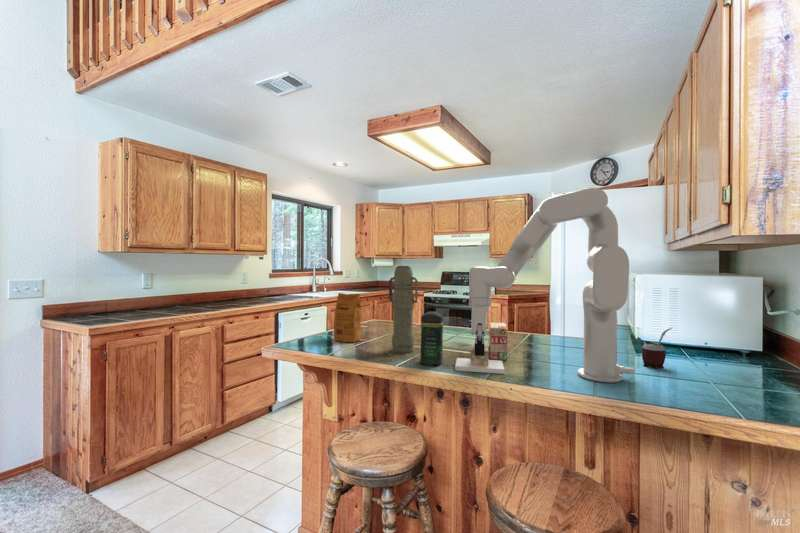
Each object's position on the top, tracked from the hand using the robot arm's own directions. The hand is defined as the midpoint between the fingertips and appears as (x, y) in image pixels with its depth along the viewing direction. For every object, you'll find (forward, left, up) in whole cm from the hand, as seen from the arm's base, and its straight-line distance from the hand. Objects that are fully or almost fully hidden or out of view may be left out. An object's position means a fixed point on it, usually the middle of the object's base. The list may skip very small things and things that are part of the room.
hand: (479, 352), depth 129 cm
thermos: (+31, -18, -6) cm, 36 cm away
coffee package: (+60, -30, -6) cm, 68 cm away
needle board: (0, 0, -5) cm, 5 cm away
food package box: (-7, -23, -6) cm, 25 cm away
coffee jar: (+17, -2, -6) cm, 18 cm away
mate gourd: (-61, -16, -6) cm, 63 cm away
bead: (0, 0, -4) cm, 4 cm away
